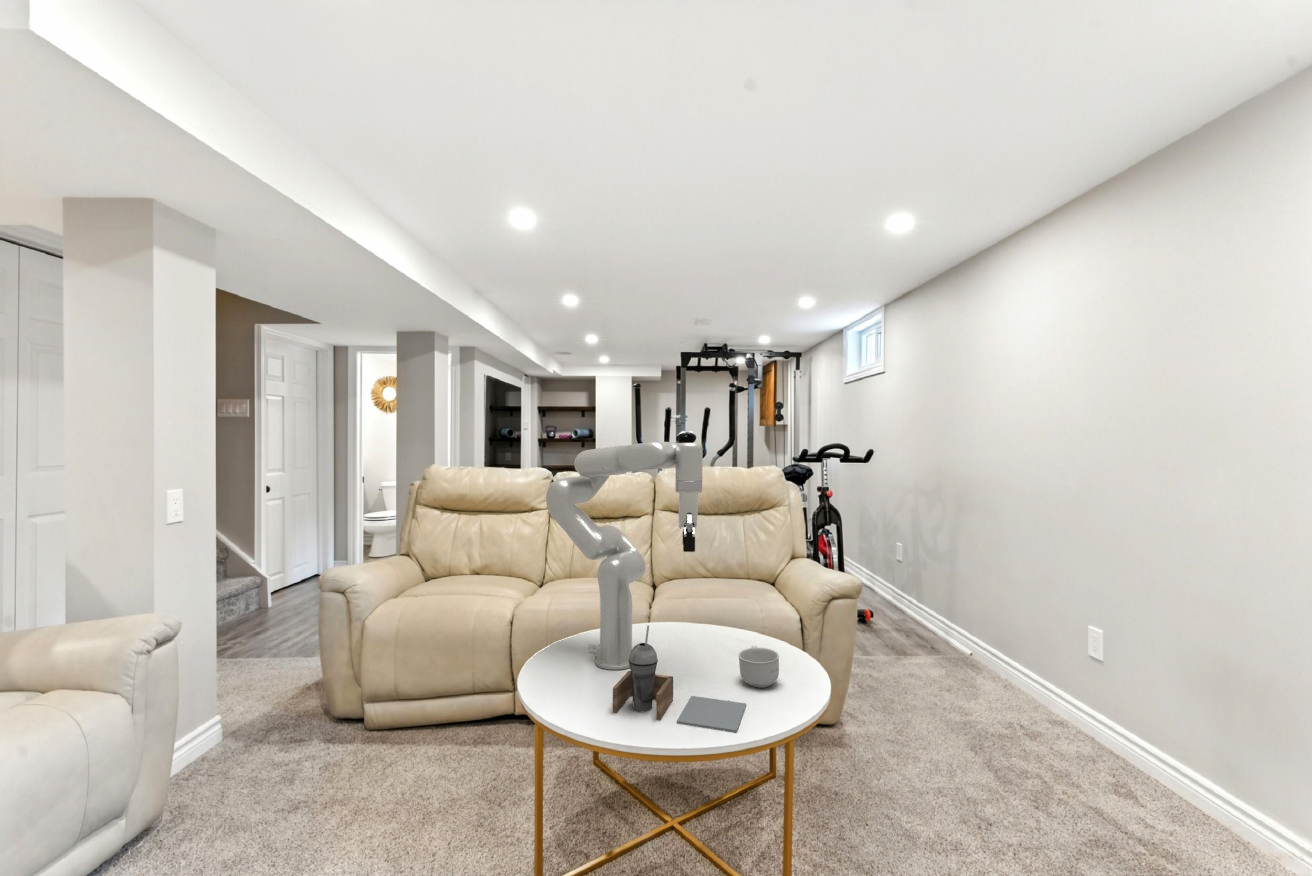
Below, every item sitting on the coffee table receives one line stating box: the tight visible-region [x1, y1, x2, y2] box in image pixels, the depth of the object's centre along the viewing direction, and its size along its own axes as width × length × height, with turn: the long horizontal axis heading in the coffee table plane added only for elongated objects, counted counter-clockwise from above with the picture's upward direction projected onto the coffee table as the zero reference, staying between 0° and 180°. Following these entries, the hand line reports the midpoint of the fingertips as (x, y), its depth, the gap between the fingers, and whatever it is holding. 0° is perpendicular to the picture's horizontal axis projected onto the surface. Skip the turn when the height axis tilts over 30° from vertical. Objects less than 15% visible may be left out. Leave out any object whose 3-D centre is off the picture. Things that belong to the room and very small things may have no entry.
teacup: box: [738, 645, 780, 689], centre depth 156 cm, size 14×11×8 cm
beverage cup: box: [629, 625, 659, 713], centre depth 140 cm, size 7×7×20 cm
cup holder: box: [612, 670, 674, 721], centre depth 140 cm, size 12×11×6 cm
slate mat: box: [676, 695, 747, 733], centre depth 136 cm, size 14×14×1 cm
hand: (688, 548), depth 158 cm, fingers open, 9 cm apart
